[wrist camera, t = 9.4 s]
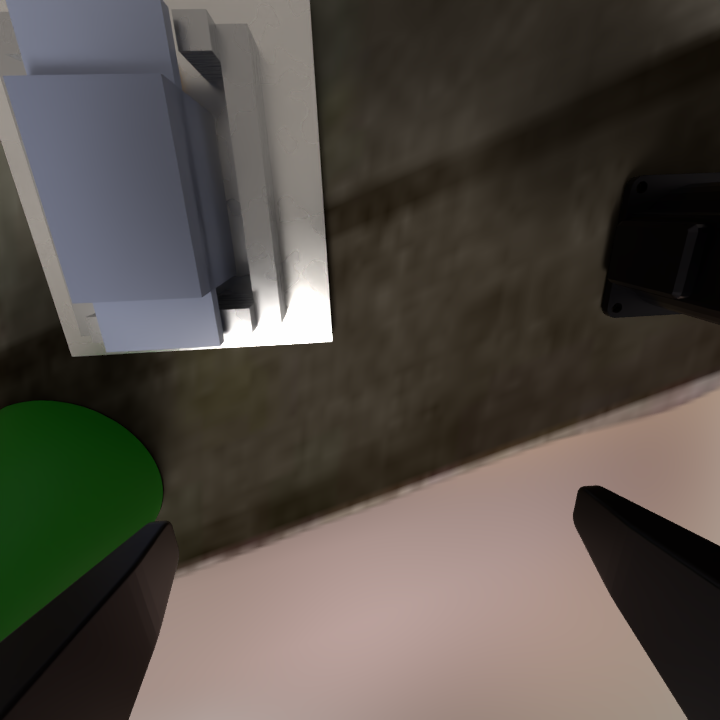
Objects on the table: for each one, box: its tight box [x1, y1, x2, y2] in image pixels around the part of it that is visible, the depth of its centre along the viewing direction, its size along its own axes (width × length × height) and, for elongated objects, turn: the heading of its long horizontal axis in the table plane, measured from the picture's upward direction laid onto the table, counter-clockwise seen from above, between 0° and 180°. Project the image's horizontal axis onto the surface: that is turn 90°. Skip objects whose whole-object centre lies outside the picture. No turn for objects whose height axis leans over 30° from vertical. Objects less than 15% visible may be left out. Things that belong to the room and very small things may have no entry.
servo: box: [3, 0, 237, 352], centre depth 14 cm, size 4×10×5 cm, turn 2°
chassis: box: [0, 0, 332, 357], centre depth 15 cm, size 12×13×4 cm
